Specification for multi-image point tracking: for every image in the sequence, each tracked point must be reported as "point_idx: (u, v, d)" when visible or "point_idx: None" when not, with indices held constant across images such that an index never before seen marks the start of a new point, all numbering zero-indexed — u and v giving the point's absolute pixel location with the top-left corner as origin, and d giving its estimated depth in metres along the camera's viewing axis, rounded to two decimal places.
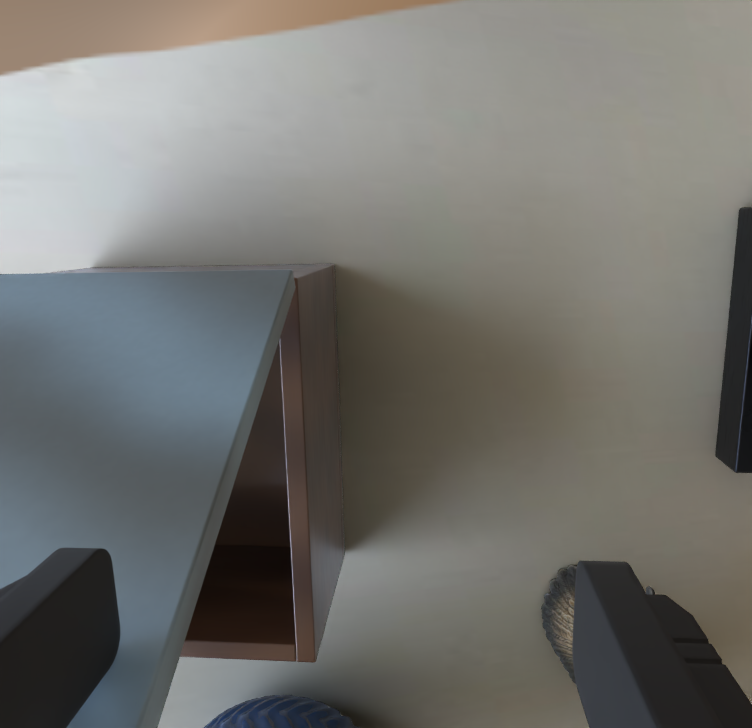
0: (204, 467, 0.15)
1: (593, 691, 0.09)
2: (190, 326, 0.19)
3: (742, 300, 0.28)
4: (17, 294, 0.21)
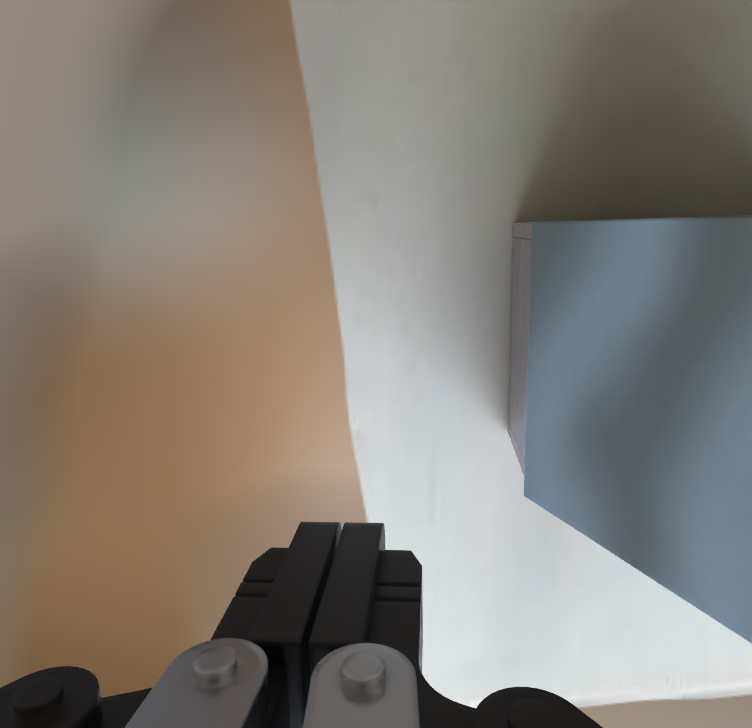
0: (709, 234, 0.19)
1: None
2: (580, 289, 0.24)
3: None
4: (544, 437, 0.28)
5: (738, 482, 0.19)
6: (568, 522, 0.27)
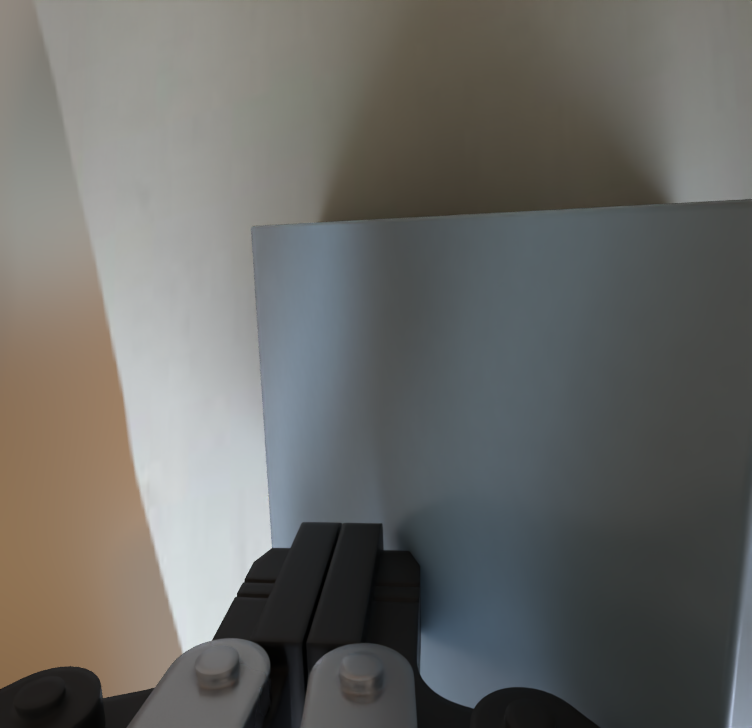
0: (369, 249, 0.11)
1: None
2: (286, 325, 0.17)
3: None
4: (280, 526, 0.20)
5: (420, 670, 0.11)
6: None
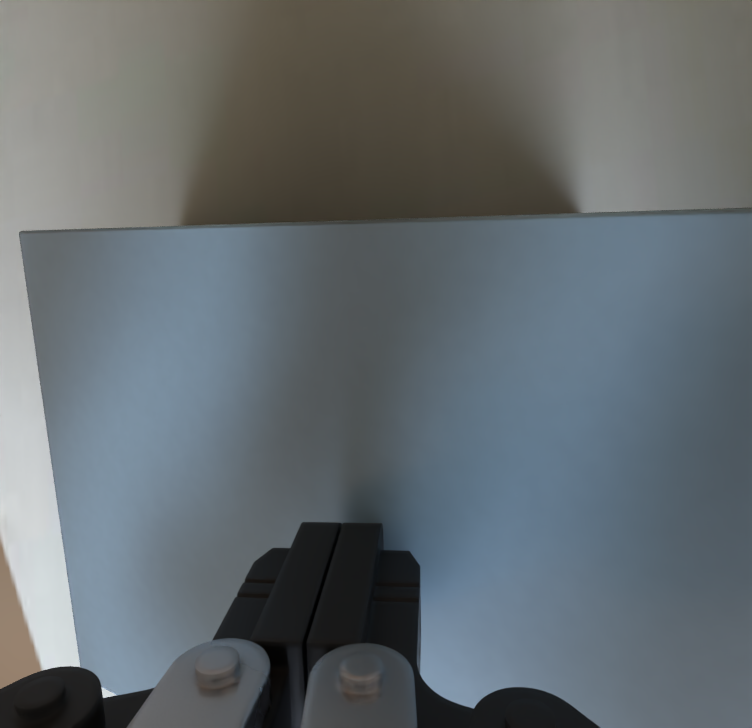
0: (319, 251, 0.11)
1: None
2: (119, 345, 0.14)
3: None
4: (99, 585, 0.17)
5: None
6: None
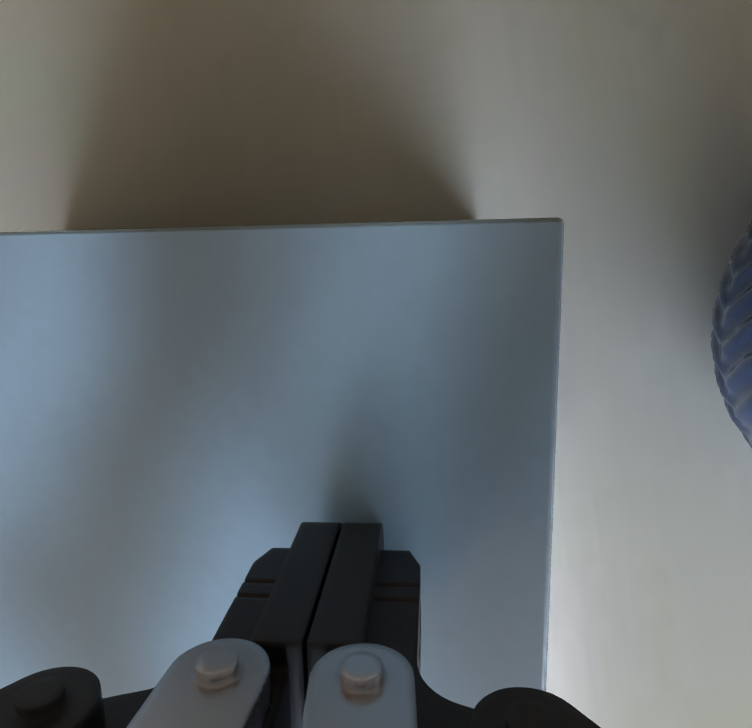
0: (154, 256, 0.12)
1: None
2: None
3: None
4: None
5: None
6: None
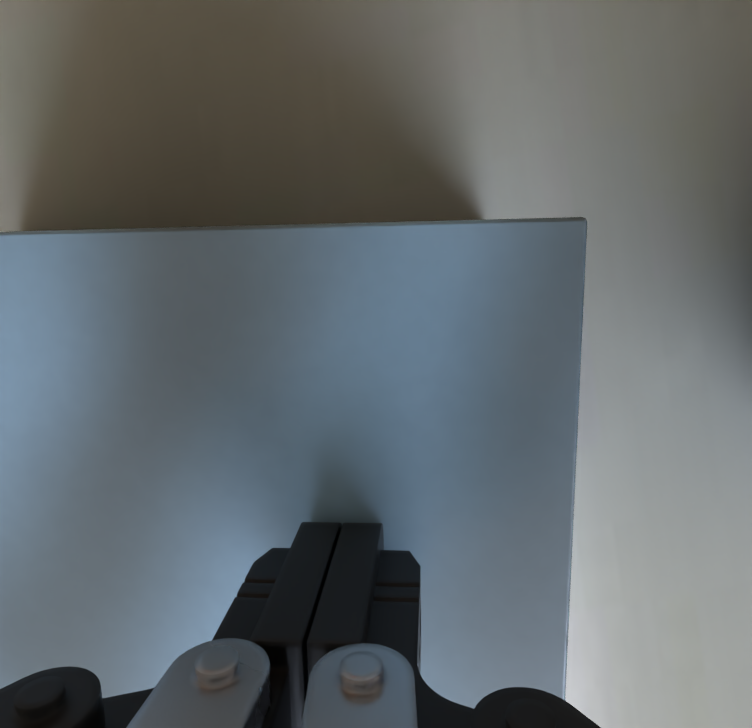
0: (150, 258, 0.11)
1: None
2: None
3: None
4: None
5: None
6: None
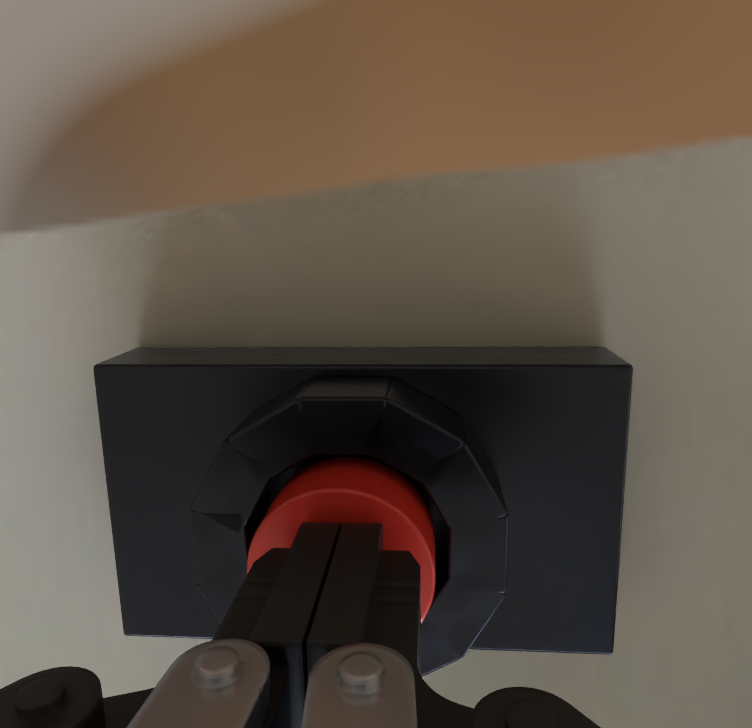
0: None
1: None
2: None
3: None
4: None
5: None
6: None
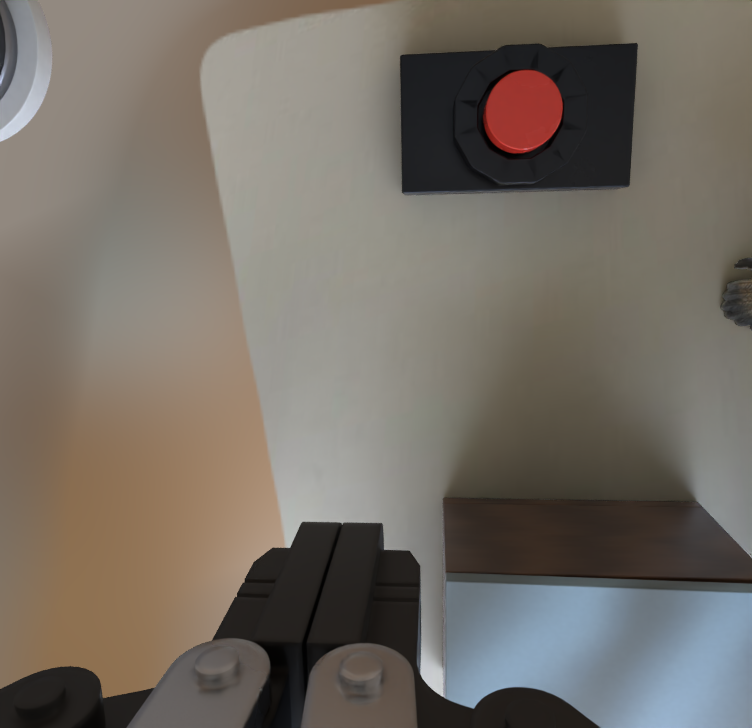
0: (637, 597, 0.30)
1: None
2: (515, 631, 0.31)
3: (476, 192, 0.35)
4: None
5: None
6: None
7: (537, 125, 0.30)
